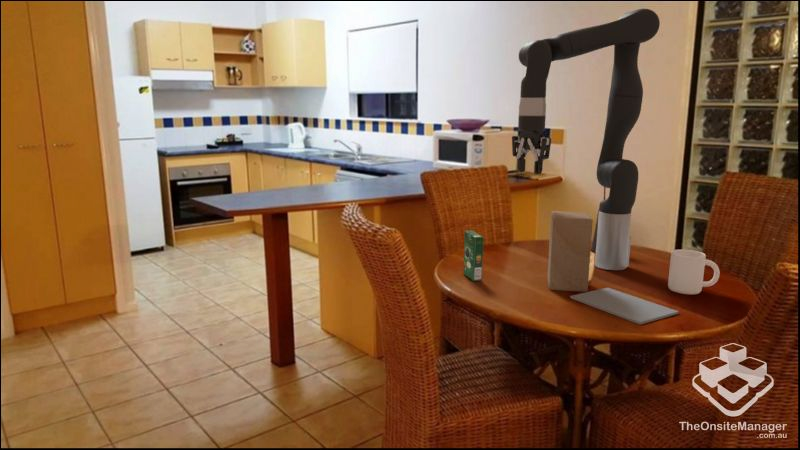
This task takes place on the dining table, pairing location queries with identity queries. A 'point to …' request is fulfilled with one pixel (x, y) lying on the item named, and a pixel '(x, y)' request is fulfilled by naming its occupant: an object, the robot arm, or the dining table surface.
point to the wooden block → (569, 251)
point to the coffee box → (473, 255)
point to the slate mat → (624, 305)
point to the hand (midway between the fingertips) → (529, 172)
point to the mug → (689, 271)
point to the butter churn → (596, 231)
